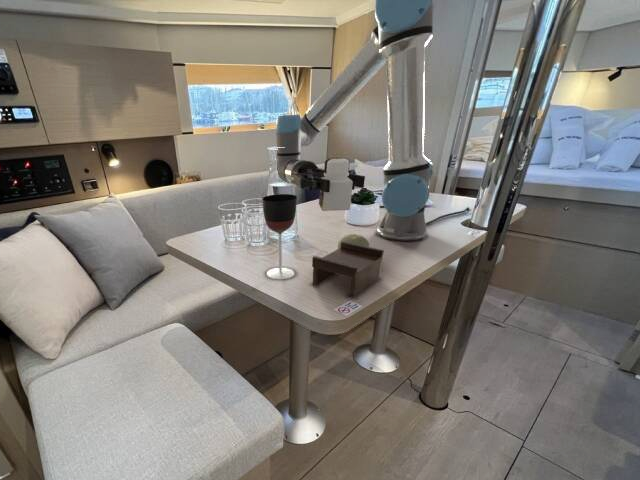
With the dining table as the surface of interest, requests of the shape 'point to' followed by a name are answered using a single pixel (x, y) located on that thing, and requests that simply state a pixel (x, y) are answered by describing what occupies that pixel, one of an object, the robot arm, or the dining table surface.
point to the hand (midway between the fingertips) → (346, 184)
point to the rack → (349, 266)
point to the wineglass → (279, 225)
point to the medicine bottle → (336, 185)
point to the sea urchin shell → (354, 240)
